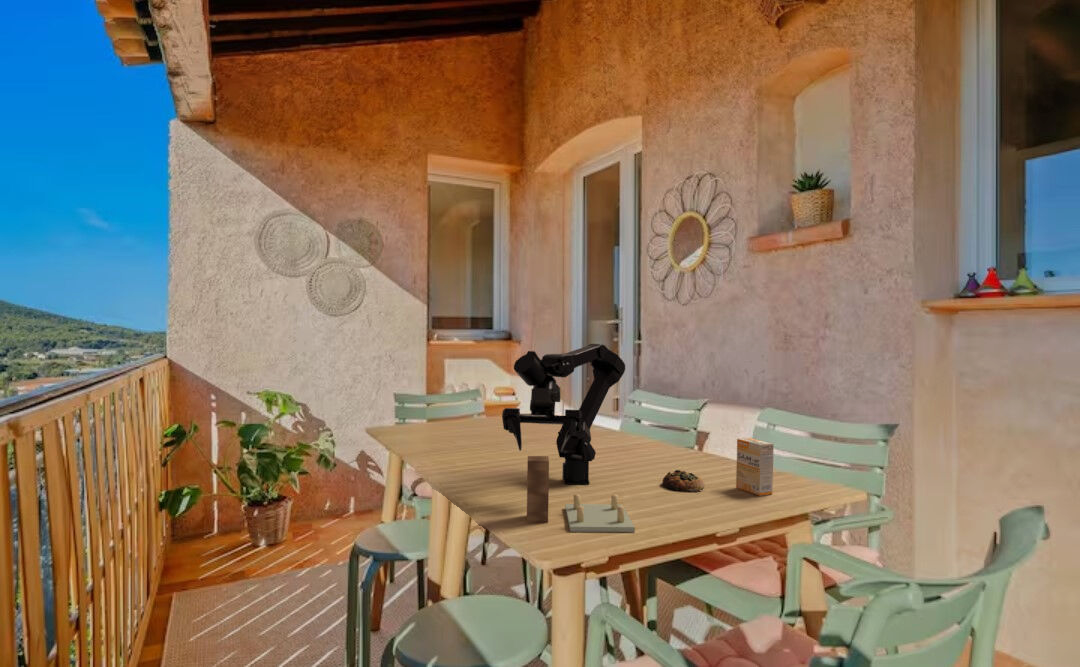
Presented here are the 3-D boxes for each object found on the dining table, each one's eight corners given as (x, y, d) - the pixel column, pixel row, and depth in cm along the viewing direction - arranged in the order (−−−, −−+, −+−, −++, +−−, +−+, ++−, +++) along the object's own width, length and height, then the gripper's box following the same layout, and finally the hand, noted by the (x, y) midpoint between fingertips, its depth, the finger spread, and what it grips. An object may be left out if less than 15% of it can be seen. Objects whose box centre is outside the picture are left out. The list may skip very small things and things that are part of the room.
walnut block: (547, 515, 122) (548, 456, 122) (548, 522, 118) (549, 460, 118) (526, 515, 122) (527, 456, 122) (526, 522, 118) (527, 460, 118)
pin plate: (622, 508, 128) (622, 491, 128) (634, 532, 113) (634, 512, 113) (565, 508, 128) (565, 490, 128) (570, 531, 113) (570, 511, 113)
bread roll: (654, 486, 147) (656, 467, 148) (673, 484, 156) (675, 466, 156) (694, 496, 140) (696, 476, 140) (711, 493, 148) (714, 474, 149)
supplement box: (735, 488, 147) (735, 438, 147) (748, 486, 149) (749, 437, 149) (759, 496, 139) (760, 444, 139) (773, 494, 141) (774, 442, 141)
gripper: (503, 374, 134) (496, 428, 123) (582, 375, 132) (581, 430, 121) (507, 403, 141) (500, 456, 130) (581, 405, 140) (581, 458, 129)
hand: (540, 450), depth 128 cm, fingers open, 9 cm apart
